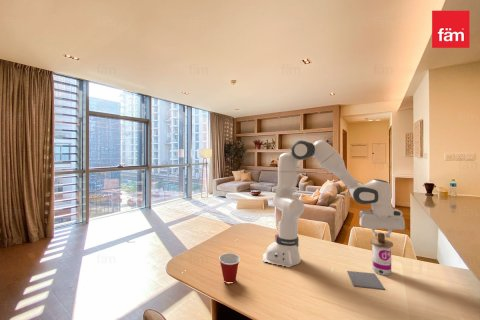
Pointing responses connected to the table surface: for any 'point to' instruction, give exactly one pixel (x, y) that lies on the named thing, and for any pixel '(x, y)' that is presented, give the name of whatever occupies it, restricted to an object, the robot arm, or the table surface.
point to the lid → (381, 241)
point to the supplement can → (381, 260)
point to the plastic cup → (229, 266)
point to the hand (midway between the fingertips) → (381, 236)
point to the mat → (365, 280)
